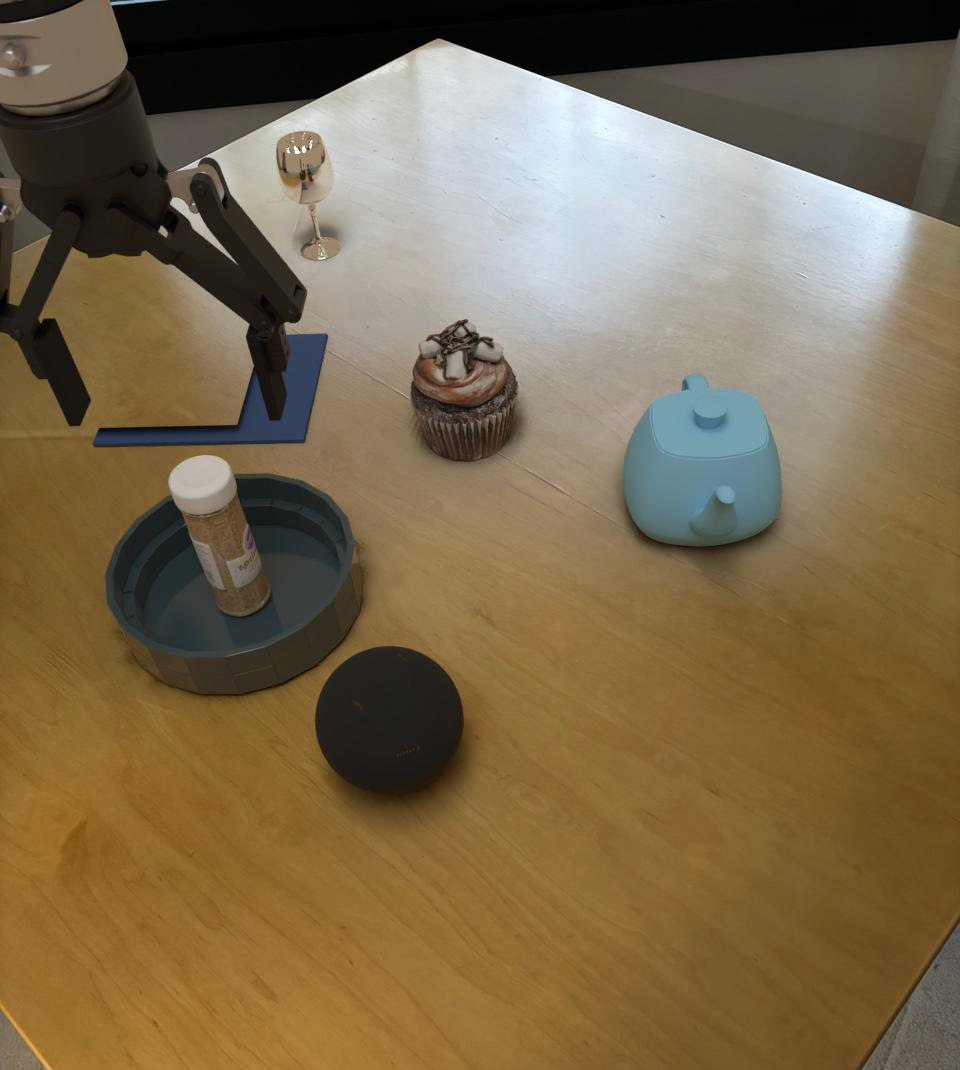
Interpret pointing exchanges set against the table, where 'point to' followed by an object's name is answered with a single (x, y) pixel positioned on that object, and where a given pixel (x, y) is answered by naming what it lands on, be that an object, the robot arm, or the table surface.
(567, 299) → the table surface
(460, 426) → the cupcake
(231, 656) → the bowl
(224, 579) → the sprinkles bottle
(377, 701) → the speaker
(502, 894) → the table surface
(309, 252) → the wineglass
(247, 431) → the blue l-shaped plate
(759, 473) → the teapot
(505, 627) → the table surface
